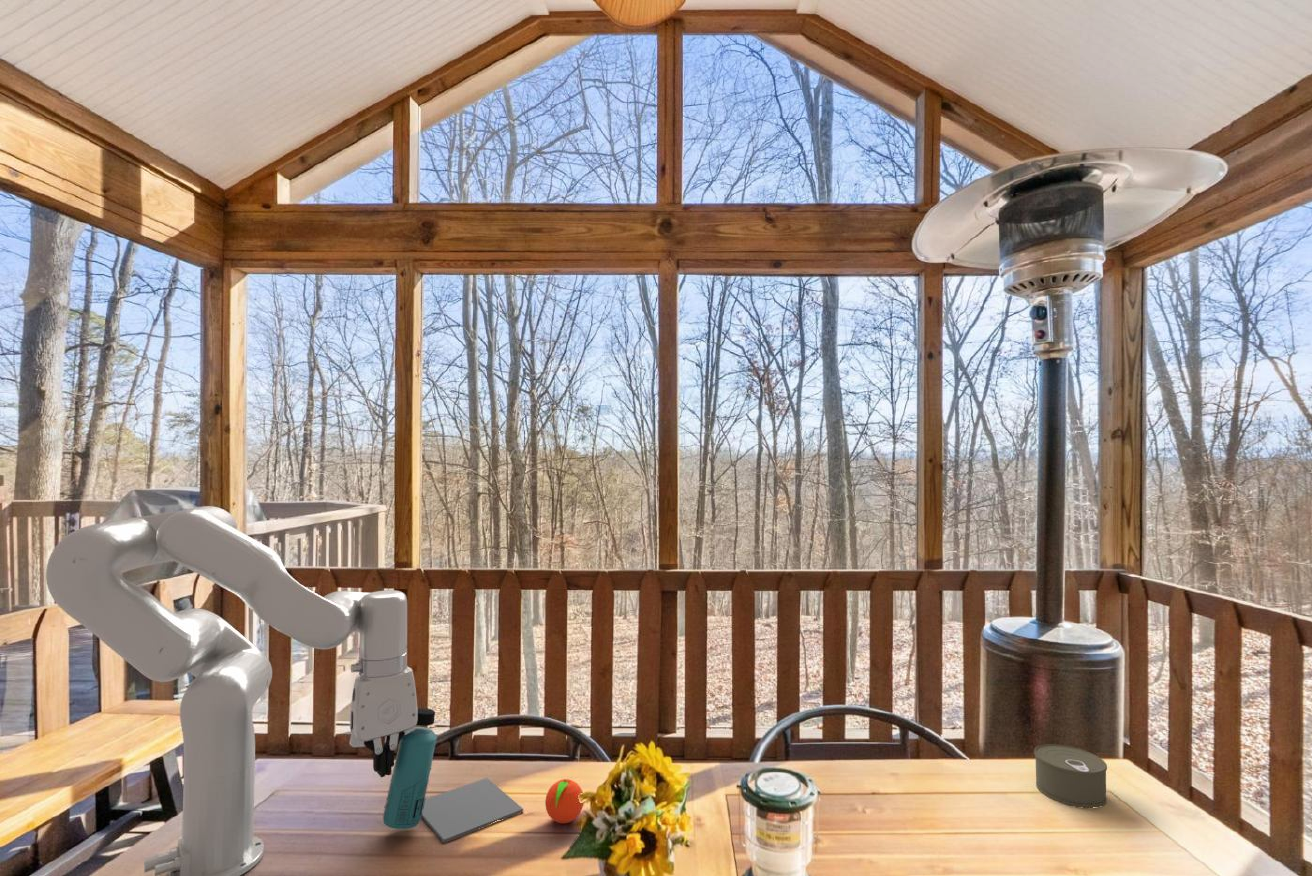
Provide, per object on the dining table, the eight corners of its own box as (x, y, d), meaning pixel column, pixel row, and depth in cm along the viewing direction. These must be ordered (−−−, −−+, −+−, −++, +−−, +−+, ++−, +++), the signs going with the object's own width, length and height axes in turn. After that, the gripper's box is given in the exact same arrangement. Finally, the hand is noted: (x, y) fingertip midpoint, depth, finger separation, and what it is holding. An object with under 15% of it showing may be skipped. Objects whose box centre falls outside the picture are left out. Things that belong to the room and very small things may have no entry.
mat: (443, 843, 109) (443, 839, 109) (412, 806, 120) (412, 803, 120) (523, 812, 118) (523, 808, 118) (487, 780, 130) (487, 777, 130)
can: (1085, 779, 132) (1085, 745, 132) (1121, 811, 120) (1121, 773, 120) (1024, 776, 133) (1023, 742, 133) (1053, 807, 121) (1052, 770, 121)
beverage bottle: (410, 842, 108) (436, 717, 111) (372, 834, 108) (399, 711, 112) (424, 825, 114) (449, 708, 118) (388, 819, 115) (413, 702, 118)
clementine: (574, 837, 111) (575, 795, 111) (536, 832, 112) (537, 791, 112) (588, 812, 119) (589, 773, 119) (553, 808, 120) (553, 769, 120)
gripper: (342, 680, 103) (342, 797, 102) (435, 660, 112) (435, 767, 112) (330, 669, 108) (330, 779, 108) (419, 651, 118) (419, 752, 117)
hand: (383, 772), depth 110 cm, fingers closed
